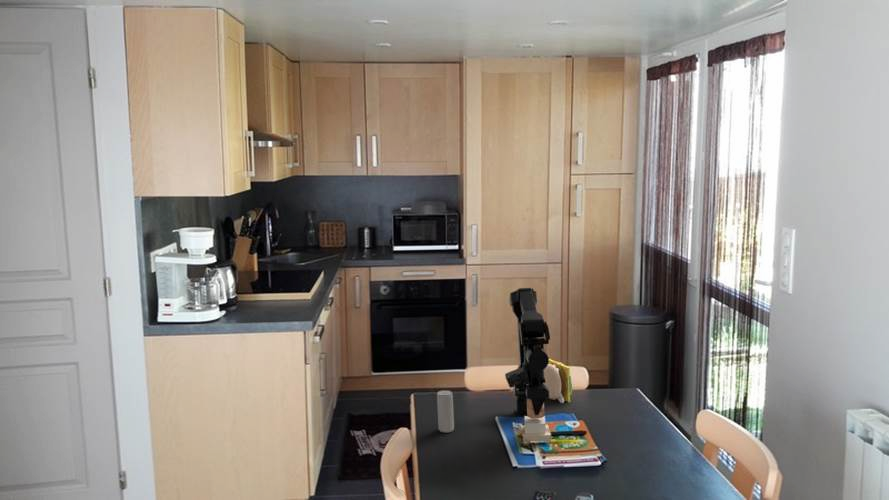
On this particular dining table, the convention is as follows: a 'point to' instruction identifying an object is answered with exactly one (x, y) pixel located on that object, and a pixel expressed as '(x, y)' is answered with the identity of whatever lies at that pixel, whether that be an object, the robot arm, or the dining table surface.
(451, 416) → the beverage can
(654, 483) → the dining table surface
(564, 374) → the hamburger
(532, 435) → the birch slab
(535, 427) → the white block
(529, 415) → the tan cylinder
